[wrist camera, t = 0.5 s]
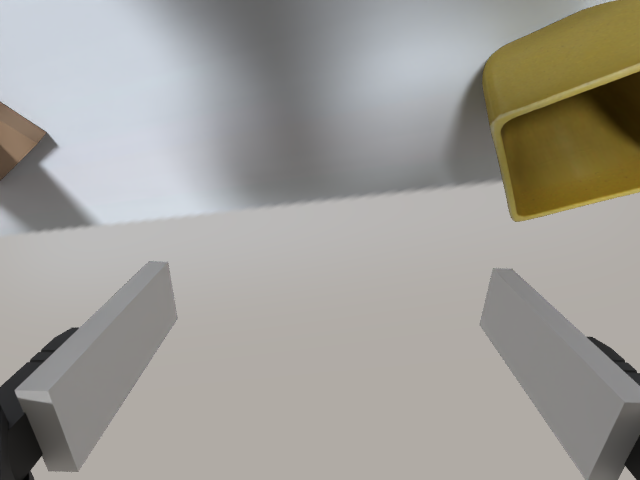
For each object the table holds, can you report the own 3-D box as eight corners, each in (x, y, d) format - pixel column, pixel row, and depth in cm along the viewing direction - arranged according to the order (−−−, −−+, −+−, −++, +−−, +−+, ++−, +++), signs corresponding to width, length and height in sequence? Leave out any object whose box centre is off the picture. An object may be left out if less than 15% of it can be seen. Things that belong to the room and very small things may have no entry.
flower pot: (456, 35, 22) (489, 122, 17) (631, -52, 18) (744, 27, 13) (482, 136, 28) (512, 224, 23) (617, 88, 24) (690, 180, 19)
